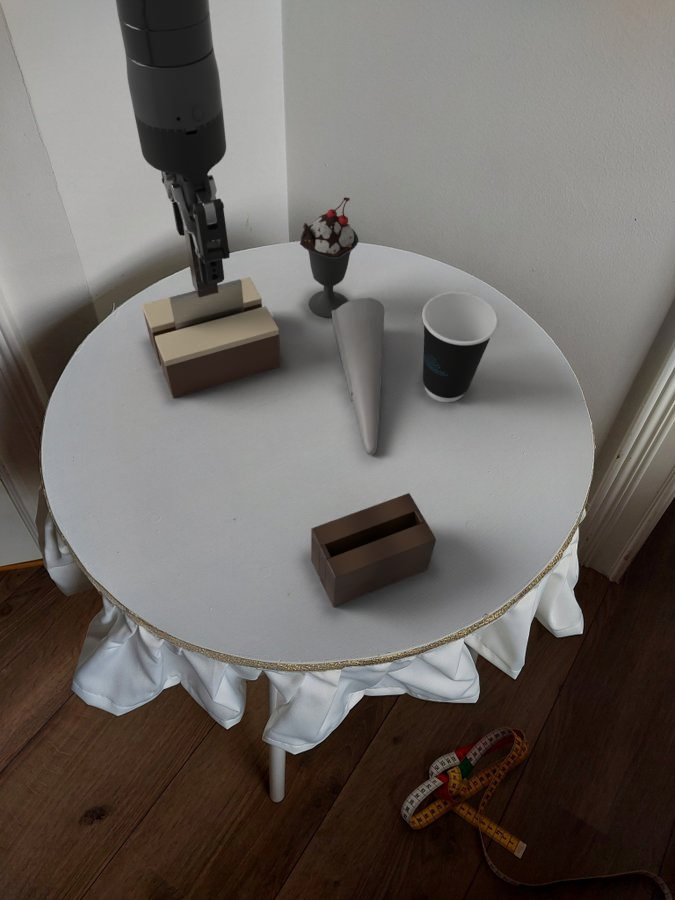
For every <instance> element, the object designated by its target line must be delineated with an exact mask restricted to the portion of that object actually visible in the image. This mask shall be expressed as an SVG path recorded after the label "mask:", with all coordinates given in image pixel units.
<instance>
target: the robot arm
mask: <svg viewBox="0 0 675 900" xmlns="http://www.w3.org/2000/svg"><path fill="white" fill-rule="evenodd" d="M115 5H116V10H117V17H118V22H119V27H120V31H121V33H120V34H121V38H122V42H123V48H124V53H125V62H126V77H127V85H128V91H129V93H130V94H129V95H130V99H131V104H132V110H133V114H134V119H135V124H136V129H137V134H138V140H139V144H140V149H141V153H142V156H143V159H144V160H145V161H146V163H147V164H148V165H150V166H151V167H152V168H154V169H155V170H158V171H160V173H161V183H162V184H163V185H164V188H165V191H166V194H167V199H168V200H169V202H170V203H171V205H172V210H173V217H174V222H175V227H176V231H177V233H178V235H179V236H182V237H185V234H184V228H185V230H186V232H188V233H190V234H192V237H193V240H194V244H195V248H196V249H195V251H196V254H197V256H198V262H199V269H200V275H201V280H202V282H203V284H204V285H206V286H209V285H213V284H221V283H222V282H224V280H225V271H224V264H223V263H224V262H223V260H226V259H229V258H230V255H231V251H230V249H229V240H228V235H227V234H228V232H227V225H226V217H225V209H224V208H225V205H224V202H223V200H222V199H221V198H217V196H216V194H217V190H218V189H217V185H216V182H215V178H214V176H213V174H209V172H210V171H211V170H212V169H213V168H214V167H215V166H216V165H217V164H219V163H220V162H221V161H222V160H223V158H224V157H225V154H226V152H227V139H226V130H225V121H224V120H225V118H224V110H223V109H224V108H223V100H222V99H223V98H222V91H221V90H222V89H221V80H220V79H221V78H220V71H219V67H218V63H217V59H216V54H215V49H214V41H213V31H212V22H211V13H210V1H209V0H115ZM193 220H195V222H196V223H194V222H192V221H193ZM183 224H184V228H183ZM209 241H210V242H209Z"/></svg>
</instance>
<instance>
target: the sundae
mask: <svg viewBox="0 0 675 900" xmlns="http://www.w3.org/2000/svg"><path fill="white" fill-rule="evenodd" d="M350 200H351V199H350V197H343V200H342V202H341V203H340V205H339V206H338V207H336V208H335V209H333V208H330V209H328V211H327V212H326V213H324V214H321V215H319V216H318V217H317V218H316V219H315V220H314V221H313V224H310V225H308V223H307V222H304V223H303V225H302V228H303V231H302V233H301V236H300V242H299V245H300V246H301V247H303V248H304V249H305V250H307V252H308V257H309V258H308V259H309V264H310V270H311V273H312V277H313V279H314V280H315V281H316V282H317V283H319V284H320V285H321V286H323V290H321V291H319V292H316V293H314V294H313V295H312V296H311V297H310V298H309V300H308V308H309V310H310V311H311V312H312V313H313V314H315V315H316V316H319V317H322V318H326V319H327V318H332V310H336V309H338V308H339V307H340V306H341V305H343V304H344V303H346V302H348V301H347V298H346V297H345V296H344V295H343V294H342V293H339V292H337V291H334V287H335V286H337V285H339V283H341V282H343V280H344V279H345V277H346V273H347V270H348V266H349V260H350V256H351V254H352V253H351V252H352V251H353V250H354V249H355V248H356V247H357V245H358V244H359V237H358V234H357V232H356V231H355V230H354V228H352V226H351V224H349V218H348V216H346V215H345V207H346V204H347V203H348V202H349V201H350ZM342 205H343V206H342ZM341 206H342V212H341V213H342V214H341V215H338V213H337V210H338V209H339V208H341Z"/></svg>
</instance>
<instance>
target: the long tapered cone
mask: <svg viewBox="0 0 675 900" xmlns="http://www.w3.org/2000/svg"><path fill="white" fill-rule="evenodd" d="M385 311H386V310H385V306H384V304H383V303H382V302H381V301H380V300H378V299H375V298H371V297H360V298H354V299H351V300H348V301H347V302H346V303H344V304H343V305H341V306H340V307H339V308H338V309H336V310H332V317H331V318H332V325H333V331H334V336H335V339H336V343H337V347H338V351H339V356H340V360H341V364H342V367H343V372H344V377H345V380H346V384H347V389H348V392H349V396H350V401H351V402H352V405H353V409H354V413H355V417H356V420H357V425H358V429H359V433H360V439H361V443H362V446H363V448H364V450H365V452H366V454H367V455H369V456H372V455H374V454H375V453H376V452H377V449H378V438H379V426H380V411H381V410H380V408H381V389H382V388H381V387H382V369H383V368H382V367H383V348H384V331H385Z"/></svg>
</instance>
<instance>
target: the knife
mask: <svg viewBox="0 0 675 900" xmlns="http://www.w3.org/2000/svg"><path fill="white" fill-rule="evenodd" d="M192 222H194V223H196V222H195V220H193V221H192ZM183 228H184V224H183ZM184 234H185V235H184V239H185V246H186V251H187V257H188V264H189V269H190V275H191V281H192V286H193V288H194V291H188V292H186V293H181V294H178V295H173V296H170V297H168V298H169V299H170V303H171V308H172V313H173V318H174V323H175V328H176V330H180V329H184V328H187V327H191V326H195V325H198V324H202V323H206V322H209V321H213V320H217V319H221V318H224V317H228V316H232V315H235V314H239V313H243V312H244V303H243V292H242V282H241V280H240V279H241V278H240V279H239V278H238V279H235V280H231V281H228V282H224V283H217V284H213V285H209V286H206V285H204V284H203V282H202V280H201V275H200V269H199V262H198V256H197V254H196V251H195V249H196V248H195V244H194V240H193V237H192V234H190V233H188V232H186V230H185V228H184ZM209 242H210V241H209Z"/></svg>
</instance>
